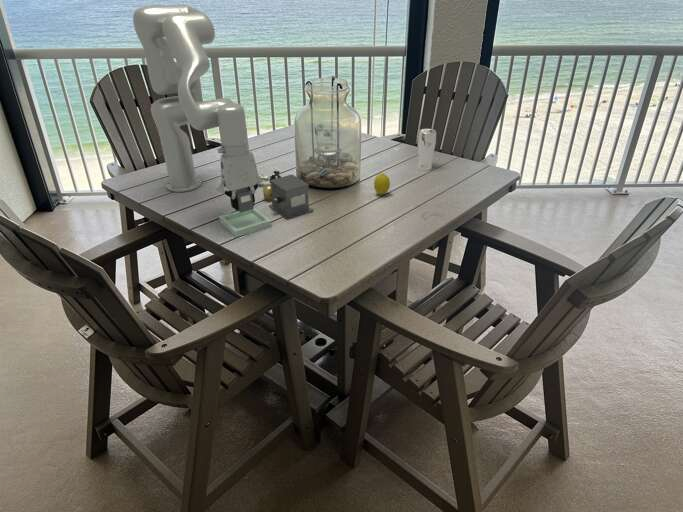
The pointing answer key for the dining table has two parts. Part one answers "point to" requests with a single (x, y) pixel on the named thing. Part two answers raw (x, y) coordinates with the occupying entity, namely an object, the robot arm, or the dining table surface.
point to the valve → (271, 176)
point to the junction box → (289, 196)
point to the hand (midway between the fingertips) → (243, 206)
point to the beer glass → (426, 148)
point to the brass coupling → (267, 193)
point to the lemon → (381, 183)
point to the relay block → (244, 199)
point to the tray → (245, 222)
